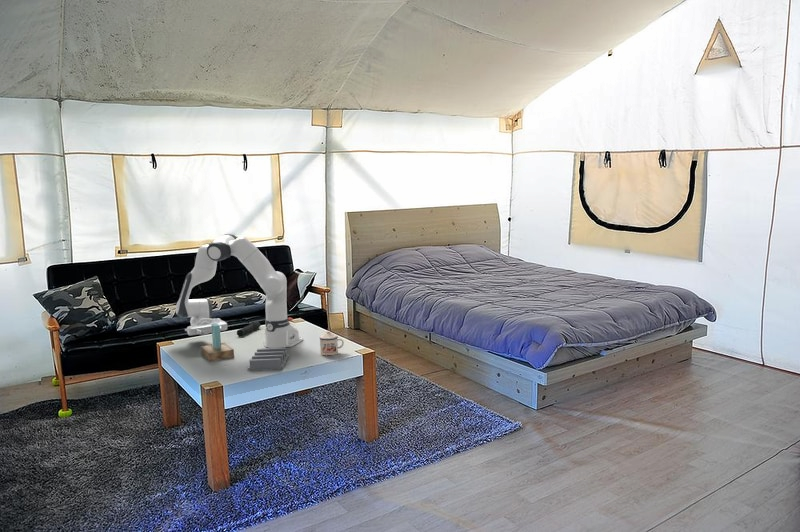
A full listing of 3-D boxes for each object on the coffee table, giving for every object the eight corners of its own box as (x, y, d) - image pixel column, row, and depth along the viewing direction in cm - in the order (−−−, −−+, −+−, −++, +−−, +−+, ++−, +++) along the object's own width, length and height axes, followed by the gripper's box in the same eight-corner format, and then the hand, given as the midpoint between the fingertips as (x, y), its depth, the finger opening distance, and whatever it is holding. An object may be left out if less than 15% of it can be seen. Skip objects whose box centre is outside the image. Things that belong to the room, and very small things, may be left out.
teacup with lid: (320, 357, 289) (320, 334, 288) (319, 352, 298) (318, 329, 297) (345, 355, 292) (344, 332, 290) (342, 350, 301) (342, 328, 299)
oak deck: (224, 349, 306) (224, 342, 305) (234, 357, 292) (233, 349, 292) (201, 353, 299) (200, 346, 299) (209, 361, 286) (209, 353, 285)
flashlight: (260, 328, 351) (260, 320, 350) (244, 337, 331) (243, 329, 330) (253, 328, 352) (252, 320, 351) (236, 337, 332) (235, 328, 331)
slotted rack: (256, 357, 290) (255, 348, 290) (288, 356, 291) (288, 347, 290) (247, 370, 271) (247, 360, 270) (282, 369, 271) (281, 359, 271)
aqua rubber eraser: (217, 346, 298) (216, 323, 297) (221, 348, 293) (219, 325, 292) (212, 346, 297) (211, 323, 295) (216, 349, 292) (214, 326, 290)
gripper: (183, 323, 308) (189, 328, 297) (222, 317, 319) (229, 322, 308) (184, 335, 309) (190, 340, 298) (223, 329, 320) (230, 334, 309)
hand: (211, 331), depth 303 cm, fingers open, 8 cm apart
